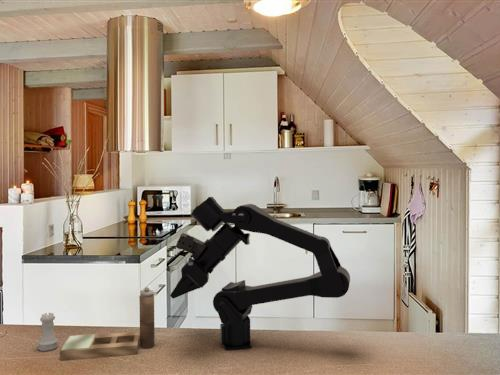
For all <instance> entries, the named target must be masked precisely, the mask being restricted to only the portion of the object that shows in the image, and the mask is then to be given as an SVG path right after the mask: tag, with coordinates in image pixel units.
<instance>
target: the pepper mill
mask: <svg viewBox="0 0 500 375" xmlns="http://www.w3.org/2000/svg"><path fill="white" fill-rule="evenodd" d="M138 299H139V331H140V341H139V348H141V349H152V348H153V347H155V346H156V344H155V342H156V341H155V340H156V338H155V295H154V290H152V289H150V288H149V287H148V286H147V287H144V289H143V290H140V292H139V298H138Z"/></svg>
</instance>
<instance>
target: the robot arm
mask: <svg viewBox="0 0 500 375" xmlns="http://www.w3.org/2000/svg"><path fill="white" fill-rule="evenodd" d="M190 216H191V217H192V218H193V219H194V220H195V221H196V222H197V223H198V224H199V225H200V227H202V229H204V231H206V232H210V231H212V232H214V234H213V235H212V236H211V237H209V239H208V238H207V239H206V240H205V241H202V240H200V239H198V238H197V237H195V236H192V235H190V234H188V233H184V232H182V233H181V234H180V236H179V238H178V240H177V243H176V245H175V248H176V249H178V250H182V251H185V252H187V253H190V254H191V255H190V256H189V258H188V261H187V262H186V263H184V265H183V266H182V267H181V269H180V271H181V277H180V279H179V280H178V282H177V284H176V285H175V287H174V288H173V290H172V291H171V293H170V298H172V299H176V298H178V297H180V296H183V295H185V294H189V293H190V292H191V293H192V292H193V291H196V290H198V289H202V288H203V287H204V286H205V285H206V284H207V283H208V282H209V278H210V274H212V273H213V272H214V269H215V268H216V267H217V266H218V265H220V263H221V262H223V261H224V260H225V259H226V257H227V256H228V255H229V254H230V253H231V252H232V251H233V250H234V249H235V248H236V247H237V246H238V244H239V243H241V242H242V243H243V244H244V245H246V246H248V245H250V237H251V234H250V233H257V234H263V235H264V234H265V235H269V236H271V237H272V238H273V237H274V238H276V239H278V240H280V241H283V242H284V243H288V244H290V245H293V246H295V247H297V248H300V249H302V250H305V251H306V252H310V253H312V254H313V255H314V257H315V260H316V263H317V267H318V270H319V271H318V272H315V273H313V274H311V275H309V276H305V277H300V278H294V279H288V280H282V281H278V282H277V281H275V282H272V283H267V284H266V283H265V284H260V285H253V286H252V285H246V280H245V279H244V280H243V279H242V280H241V281H238V282H233V281H230V282H229V283H228V284H226V285H225V286H223V287H222V288H221V290H220V291H218V292H217V293H215V294H214V296H213V300H212V305H213V308H214V310H215V312H217V314H218V317H219V319H220V322H221V323H220V324H219V325H220V326H219V328H220V329H219V330H220V332H219V333H220V336H219V337H220V344H221V345H223V347H224V350H237V349H250V348H253V344H252V342H251V318H250V316H249V315H250V314H251V313H252V309H253V305H260V304H266V303H272V302H279V301H285V300H290V299H296V298H302V297H308V296H313V297H318V298H319V297H320V298H326V299H327V298H333V299H334V298H336V299H337V298H342V297H344V296H345V295H346V294H347V292H348V291H349V288H350V282H351V275H350V273H349V271H348V270H347V269H346V268H345V267H343V266H342V265H341V262H340V260H339V258H338V256H337V255H336V253H335V251H334V250H333V247H332V246H331V242H330V239H328V238H327V237H326V236H320V235H317V234H314V233H312V232H310V231H307V230H304V229H302V228H300V227H297V226H295V225H293V224H290V223H287V222H284V221H283V220H280V219H277V218H275V217H274V216H272V215H271V214H269V213H268V212H267V211H266V210H264V209H263V208H261V207H259V206H257V205H256V204H253V203H247V204H242V205H239V206H237V207H235V209H234V210H232V209H230V210H225V209H224V208H223V207H222V206H221V205H220V204H219V203H218V201H217V200H216V199H215V198H214V197H213V196H208V197H207V199H205V200H204V201H202V202H201V203H199V205H197V206H195V208H194V209H192V212H191V214H190ZM232 224H233V225H234V226H232ZM215 231H216V232H215ZM245 231H247V232H250V233H245Z"/></svg>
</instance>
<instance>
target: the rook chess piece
mask: <svg viewBox="0 0 500 375" xmlns="http://www.w3.org/2000/svg"><path fill="white" fill-rule="evenodd" d="M55 318H56V316H55V315H54V313H53V312H48V313H47V312H45V313H43V314H41V317H40V319H39V320H40V322H41V325H40V327H41V336H40V338H39V340H38V342H37V349H38V350H39V351H40V352H48V351H49V352H50V351H53V350H55V349H57V348H58V346H59V343H58V338H57V337H56V335H55V331H54V325H55V323H54V320H55Z"/></svg>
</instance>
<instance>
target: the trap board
mask: <svg viewBox="0 0 500 375" xmlns="http://www.w3.org/2000/svg"><path fill="white" fill-rule="evenodd" d="M139 348H140V330H139V331H129V332H128V331H125V332H115V333H112V332H111V333H99V334H96V333H92V334H78V335H77V334H76V335H69V336H68V337H67V338H66V341H65V342H64V343H63V345H62V347H61V349H60V350H59V361H67V360H69V361H70V360H80V359H91V358H104V357H105V358H106V357H115V356H126V355H127V356H128V355H129V356H130V355H138V353H139V352H138V351H139Z"/></svg>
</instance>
